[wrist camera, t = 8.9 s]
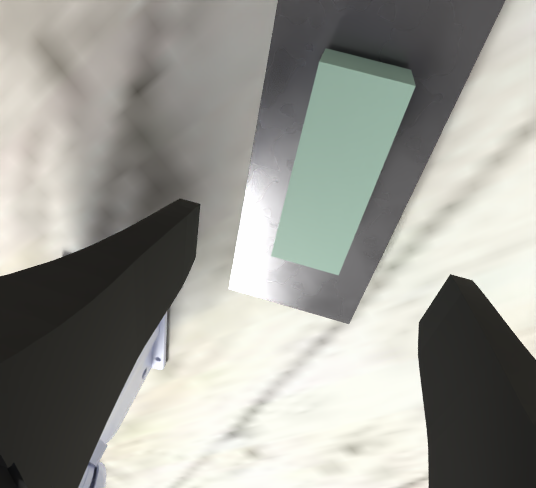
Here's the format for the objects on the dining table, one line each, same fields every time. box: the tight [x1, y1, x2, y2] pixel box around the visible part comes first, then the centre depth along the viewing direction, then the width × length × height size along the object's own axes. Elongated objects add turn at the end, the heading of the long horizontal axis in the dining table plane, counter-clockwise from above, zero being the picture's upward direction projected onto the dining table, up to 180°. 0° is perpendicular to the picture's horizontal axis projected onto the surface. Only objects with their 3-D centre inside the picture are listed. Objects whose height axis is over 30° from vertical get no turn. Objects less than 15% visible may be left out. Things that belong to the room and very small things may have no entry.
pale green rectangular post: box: [271, 48, 416, 275], centre depth 16 cm, size 8×3×5 cm, turn 169°
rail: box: [229, 0, 505, 324], centre depth 18 cm, size 18×7×2 cm, turn 169°
